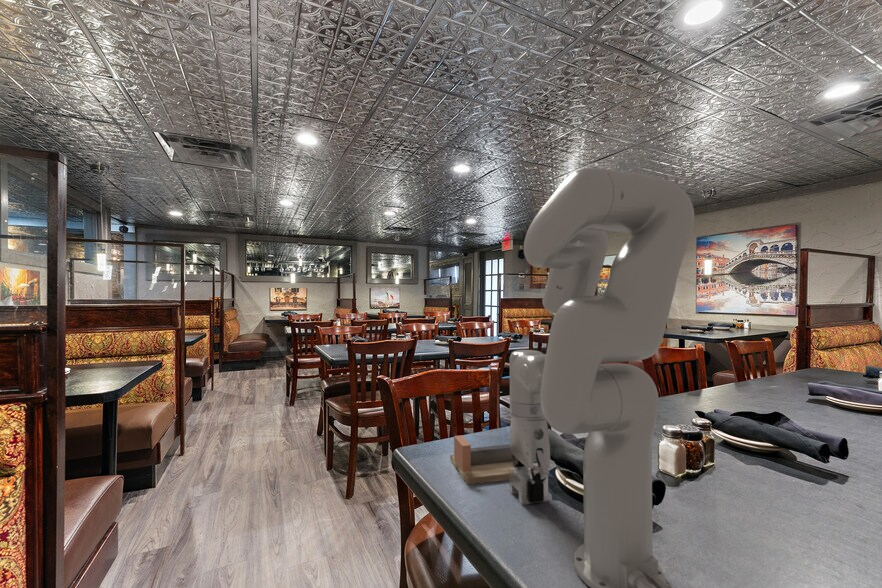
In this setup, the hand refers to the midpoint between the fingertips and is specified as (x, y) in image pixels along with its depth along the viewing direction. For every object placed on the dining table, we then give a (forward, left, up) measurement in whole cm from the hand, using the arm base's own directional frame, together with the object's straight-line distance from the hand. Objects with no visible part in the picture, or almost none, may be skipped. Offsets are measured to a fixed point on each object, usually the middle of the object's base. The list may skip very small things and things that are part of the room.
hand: (528, 492), depth 82 cm
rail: (+15, +2, +1) cm, 15 cm away
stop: (+15, +10, +1) cm, 18 cm away
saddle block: (0, 0, -1) cm, 1 cm away
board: (+15, +2, -1) cm, 15 cm away
